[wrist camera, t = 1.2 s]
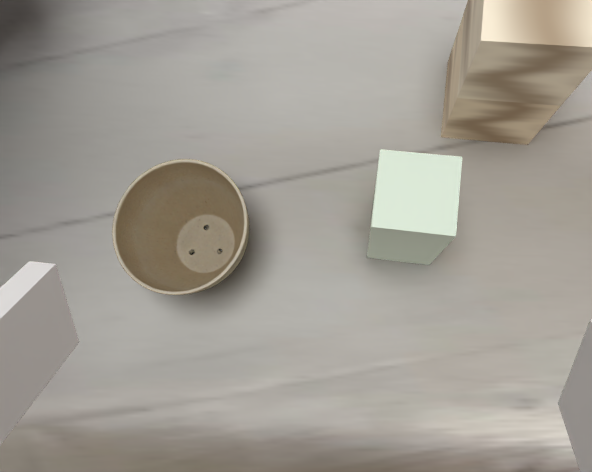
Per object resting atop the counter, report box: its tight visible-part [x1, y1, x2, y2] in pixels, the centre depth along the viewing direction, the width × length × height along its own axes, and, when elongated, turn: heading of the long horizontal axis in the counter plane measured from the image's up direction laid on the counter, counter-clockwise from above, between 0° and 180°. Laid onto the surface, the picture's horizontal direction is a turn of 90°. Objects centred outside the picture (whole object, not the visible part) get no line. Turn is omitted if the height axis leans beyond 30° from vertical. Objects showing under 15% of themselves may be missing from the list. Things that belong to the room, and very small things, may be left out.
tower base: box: [441, 11, 560, 145], centre depth 40 cm, size 7×7×7 cm
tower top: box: [457, 0, 592, 106], centre depth 33 cm, size 7×7×7 cm
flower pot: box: [112, 159, 249, 295], centre depth 40 cm, size 10×10×7 cm
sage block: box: [367, 149, 462, 265], centre depth 37 cm, size 5×5×11 cm
